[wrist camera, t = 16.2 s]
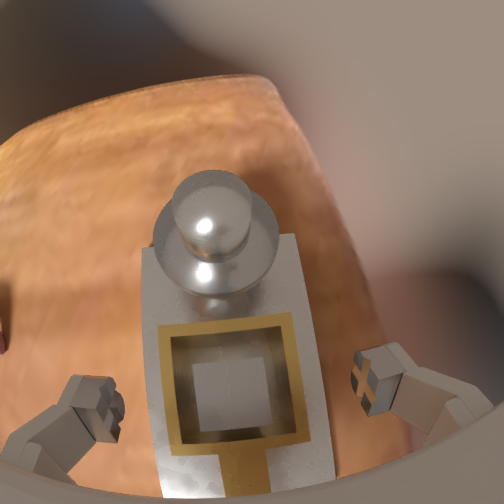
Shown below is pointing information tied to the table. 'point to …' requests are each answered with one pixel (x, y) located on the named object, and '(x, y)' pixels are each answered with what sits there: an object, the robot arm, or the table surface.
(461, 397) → the robot arm
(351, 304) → the table surface
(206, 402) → the tall grey square post
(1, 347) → the video game controller
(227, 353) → the silver and gold device
